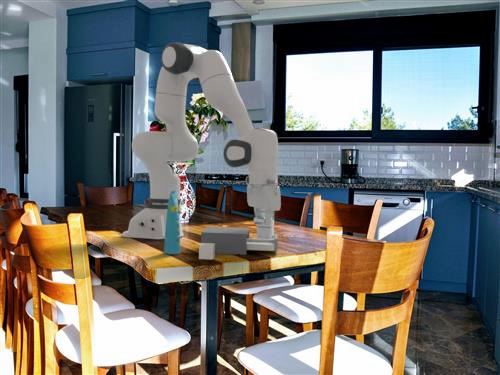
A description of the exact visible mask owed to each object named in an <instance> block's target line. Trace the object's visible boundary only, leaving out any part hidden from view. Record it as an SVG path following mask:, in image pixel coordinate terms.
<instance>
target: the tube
mask: <svg viewBox="0 0 500 375" xmlns="http://www.w3.org/2000/svg"><path fill="white" fill-rule="evenodd" d="M163 246H164V248H163V253H164V254H165V255H179V254H180V253H181V237H180V225H179V207H178V198H177V191H176V190H175V191H171V193H170V197H169V202H168V209H167V218H166V229H165V239H164V244H163Z"/></svg>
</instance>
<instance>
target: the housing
mask: <svg viewBox="0 0 500 375" xmlns="http://www.w3.org/2000/svg"><path fill="white" fill-rule="evenodd" d="M247 238H250V227H236V226H235V227H232V226H231V227H229V226H207V227H206V228H204V229H203V230H202V231H201V232H200V244H201V243H215V255H217V254H218V255H237V254H240V255H243V256H245V255H247V254H248V251H249V250H246V247H247Z"/></svg>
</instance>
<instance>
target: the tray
mask: <svg viewBox="0 0 500 375" xmlns="http://www.w3.org/2000/svg"><path fill="white" fill-rule="evenodd" d="M278 237H279V236H278V233H274V239H257V238H250V237H249V238H247V247H246V250H248V251H265V252H266V251H268V252H269V251H270V252H271V251H272V252H278V243H279V242H278V241H279V240H278Z"/></svg>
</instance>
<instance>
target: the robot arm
mask: <svg viewBox="0 0 500 375" xmlns="http://www.w3.org/2000/svg"><path fill="white" fill-rule="evenodd" d="M160 57H161V58H160V59H161V65H162V66H161V68H160V71H159V73H158V74H159V75H158V78H157V83H156V89H155V101H154V110H153V111H154V114H155V117H156V118H157V119H159V120H160V121H161V122H162V123H164V125H165V127H166V131H156V130H153V131H152V130H148V131H140V132H138V133H136V134H135V135H134V137H133V139H132V142H131V150H132V153H133V155H134V156H135V157H136V158H137V159H139V161H140V162H141V164H143V166H145V168H146V171H147V173H148V176H149V189H150V190H149V192H150V194H149V198H147V199H146V200H144V201H143V202H144V203H143V204H144V208H143V209H142V210H141V211H139V212H138V213H137V214H135V215H134V216H133V217H132V218H131V219H130V220H129V224H128V229H127V230H125V231H123V232H122V234H121V236H122V237H124V238H135V239H136V238H137V239H150V240H165V229H166V218H167V209H168V202H169V197H170V193H171V191H175V190H176V191H177V198H178V207H179V225H180V238H181V237H184V232H183V226H182V219H181V213H182V199H181V178H180V176H179V175H178V174H177V173H175V172H173V171H172V170H170V168H169V166H168V162H175V163H176V162H178V163H183V162H188V161H193V160H194V159H195V158H196V157H197V155H198V153H199V148H200V147H199V143H198V140H197V138H196V137H195V136H194V135H193V134H192V133H191V131H190V129H189V128H188V124H187V121H186V105H187V104H186V103H187V92H188V84H189V82H191V80H194V81H195V82H197V81H199V83H200V86H201V90H202V93H203V95H204V98H205V100H206V101H207V103H208V104H209V106H210V107H212V108H213V109H215V110H217V111H218V112H220V113H221V114H223V115H224V116H226V117H227V118H228V119H229V120H230V121H231V122H232V124H233V126H234V128H235V131H236V133H237V135H238V138H235V139H231V140H229V141H228V142H227V143H226V145H225V146H224V148H223V159H224V161H225V163H226V165H227V166H229V167H230V168H234V169H240V170H241V169H242V170H249V174H248V176H246V178H245V184H246V185H247V186H246V194H247V195H246V199H247V200H246V201H247V204H248V206H249V207H251V208H252V207H253V211H254V216H255V217H262V216H261V210H262V209H265V213H266V215H265V218H264V223H265V224H271V218H272V215H273V211H274V212H275V211H280V210H281V205H282V202H281V201H282V200H281V198H282V196H281V189H280V186H279V185H278V184H279V183H278V181H279V180H278V179H279V173H278V172H279V169H278V158H279V142H278V140H279V138H278V135H277V132H275V131H274V130H272V129H267V128H262V127H256V126H254V123H253V120H252V118H251V116H250V113H249V111H248V109H247V107H246V105H245V103H244V100H243V99H242V97H241V95H240V92H239V90H238V88H237V85H236V82H235V80H234V76H233V74H232V71H231V69H230V66H229V64H228V63H227V60H226V58H225V57H224V56H223V54H222V53H221V51H219V50H215V49H208V48H203V47H202V46H199V45H195V44H187V43H182V42H179V41H178V42H175V41H174V42H170V43H167V44H166V45H165V46H164V48H163V50H162V52H161V56H160Z"/></svg>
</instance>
